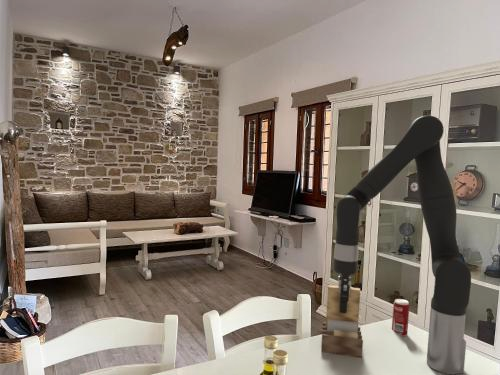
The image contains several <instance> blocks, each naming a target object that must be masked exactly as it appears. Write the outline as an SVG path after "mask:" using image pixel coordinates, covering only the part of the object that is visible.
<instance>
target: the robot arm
mask: <svg viewBox="0 0 500 375" xmlns="http://www.w3.org/2000/svg"><path fill="white" fill-rule="evenodd" d="M443 135H444V125H443V122H442V121H441V119H440V118H438V117H436V116H433V115H422V116H419V117H417V118H416V119H415V120H413V121H412V123H411V124H410V126H409V127H408V129H407V131H406V133H404V136H403V137H402V138H401V140H400V141H399V142H398V143H396V145H395V146H394V147H393V148H392V149H391V151H389V153H387V154H386V155H385V156H384V157H383V158H381V159H380V161H378V162H377V163H376V164H375V165H373V167H371V169H369V171H367V172H366V173H365V174H364V175H363V177H362V178H360V180H359V181H358V182H357V184H356V185H355V186H354V187H353V188H352V189H350V191H349V192H347V193H346V194H345V195H344V196H343V197H341V198H340V199H339V200H338V202H337V204H336V233H335V234H336V235H335V246H334V249H333V250H334V252H333V263H332V264H333V266H332V267H333V268H332V270H333V272H335V273H336V274H339V275H338V277H337V282H338V285H337V286H339V293H340V298H339V300H340V309H339V311H340V313H346V312H347V302H348V301H349V299H348V298H349V294H350V287H351V285H352V279H351V278H352V277H351V276H353V275H356V274H358V269H359V268H358V264H359V241H360V240H359V239H360V238H359V237H360V236H359V235H360V231H359V221H360V212H361V211H362V210H363V209H364V208H365V207H366V206H367V204H369V203H370V201H371V200H373V199H375V198H376V197H377V196H378V195H379V194H381V192H382V191H384V190H385V189H386V187H387V186H388V185H389V184H390V183H392V181H393V180H394V179H395V178H396V177H397V176H398V175H399V174H400V173H401V172H402V171H403V170H404V169H405V168H406V166H408V165H409V164H410V163H411V162H412V161H413V160H414V162H415V166H416V167H415V168H416V176H417V180H416V181H417V188H418V189H417V190H418V196H419V202H420V207H421V212H422V217H423V220H424V225H425V228H426V231H427V234H428V239H429V245H430V257H431V270H432V275H433V277H434V288H433V296H432V298H431V301H430V309H429V310H430V311H429V322H428V323H429V324H428V326H429V327H428V328H429V329H428V339H427V341H428V342H427V352H426V364H427V366H429V367H430V368H431V369H433V370H435V371H437V372H439V373H442V374H447V375H459V374H463V375H464V373H465V362H466V349H467V341H466V340H465V328H466V314H467V308H468V306H469V303H470V295H471V285H472V273H471V269H470V268H469V266H468V265H467V264H466V263H465V261H463V259H462V256H461V253H460V250H459V246H458V241H457V236H456V234H457V233H456V231H457V230H456V229H457V207H456V206H457V205H456V199H455V195H454V189H453V188H452V183H451V181H450V178H449V175H448V173H447V170H446V168H445V165H444V163H443V158H442V151H441V150H442V149H441V139H442V138H443ZM340 289H341V290H340ZM342 295H344V296H346V298H345V297H342Z"/></svg>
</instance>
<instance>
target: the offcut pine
mask: <svg viewBox="0 0 500 375" xmlns="http://www.w3.org/2000/svg"><path fill="white" fill-rule="evenodd" d="M334 336H340V337H347V338H354V339H358V334H357V333H355V332H348V331H340V330H334Z"/></svg>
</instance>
